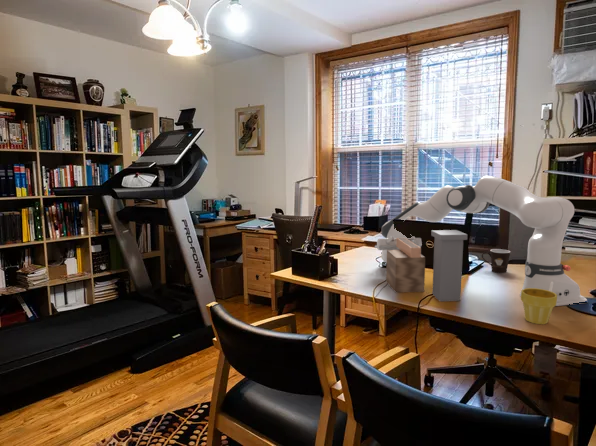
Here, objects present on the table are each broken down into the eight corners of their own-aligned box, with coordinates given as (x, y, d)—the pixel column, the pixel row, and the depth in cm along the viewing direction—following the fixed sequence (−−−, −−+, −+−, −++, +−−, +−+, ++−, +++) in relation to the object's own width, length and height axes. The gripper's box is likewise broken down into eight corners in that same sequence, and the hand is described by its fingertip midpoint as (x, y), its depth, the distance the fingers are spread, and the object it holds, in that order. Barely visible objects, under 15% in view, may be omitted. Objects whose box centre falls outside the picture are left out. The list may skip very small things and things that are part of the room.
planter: (404, 246, 190) (405, 237, 190) (420, 257, 169) (420, 247, 168) (396, 246, 190) (396, 237, 190) (410, 257, 169) (411, 247, 168)
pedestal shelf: (453, 293, 169) (456, 230, 165) (464, 301, 159) (467, 234, 155) (429, 293, 168) (431, 230, 165) (438, 302, 159) (440, 235, 155)
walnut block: (412, 281, 186) (413, 249, 184) (424, 291, 171) (425, 257, 169) (386, 281, 186) (386, 249, 184) (395, 292, 171) (396, 257, 169)
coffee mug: (512, 271, 199) (514, 251, 198) (502, 274, 194) (504, 253, 193) (489, 266, 209) (490, 247, 207) (479, 269, 204) (480, 249, 202)
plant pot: (560, 327, 134) (562, 298, 132) (525, 325, 136) (527, 296, 134) (547, 316, 144) (550, 288, 142) (515, 314, 146) (517, 287, 144)
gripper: (373, 241, 200) (379, 232, 187) (415, 241, 201) (424, 231, 188) (374, 254, 198) (380, 245, 185) (417, 253, 198) (426, 244, 186)
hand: (403, 238), depth 186 cm, fingers open, 8 cm apart
